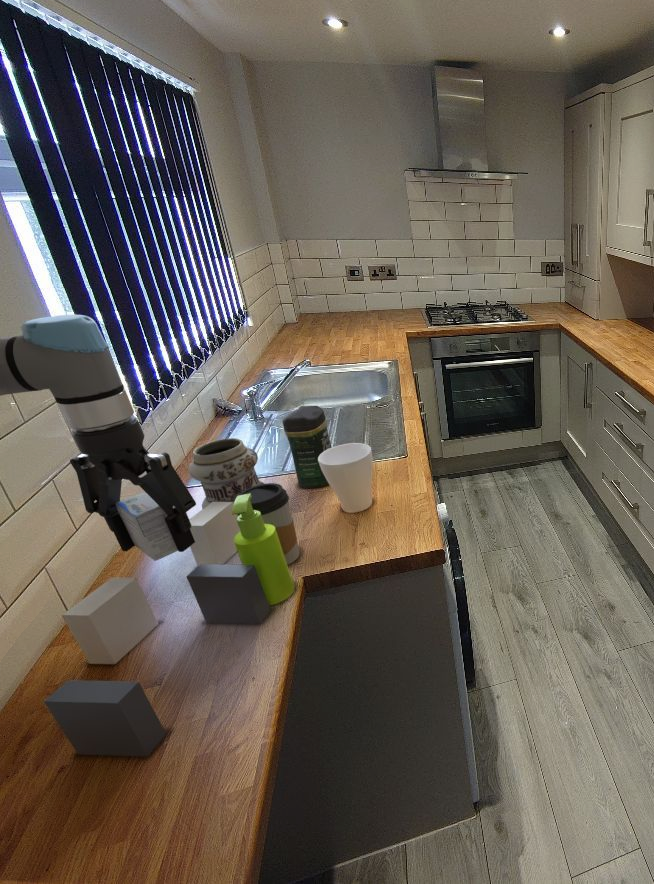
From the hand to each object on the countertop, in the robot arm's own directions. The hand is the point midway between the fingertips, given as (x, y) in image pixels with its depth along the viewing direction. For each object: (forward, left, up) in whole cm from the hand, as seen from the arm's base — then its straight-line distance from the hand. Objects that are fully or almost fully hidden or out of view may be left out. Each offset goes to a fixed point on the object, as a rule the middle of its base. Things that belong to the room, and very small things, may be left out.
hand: (159, 546), depth 87 cm
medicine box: (0, 0, 0) cm, 0 cm away
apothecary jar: (-4, +23, -11) cm, 26 cm away
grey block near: (+14, -27, -11) cm, 32 cm away
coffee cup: (+12, +10, -11) cm, 19 cm away
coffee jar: (+3, +41, -11) cm, 43 cm away
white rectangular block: (0, -11, -11) cm, 15 cm away
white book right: (0, +11, -11) cm, 15 cm away
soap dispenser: (+17, 0, -11) cm, 20 cm away
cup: (+18, +29, -11) cm, 36 cm away
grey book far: (+14, -5, -11) cm, 18 cm away
